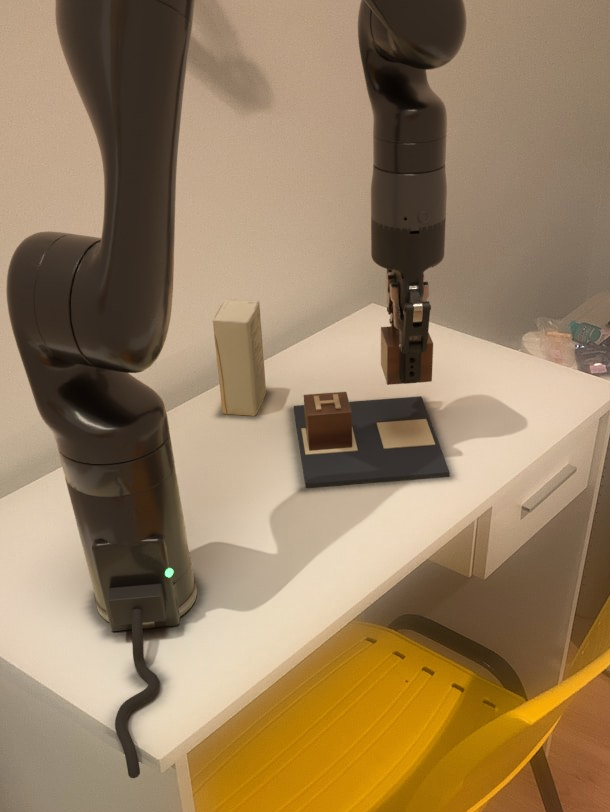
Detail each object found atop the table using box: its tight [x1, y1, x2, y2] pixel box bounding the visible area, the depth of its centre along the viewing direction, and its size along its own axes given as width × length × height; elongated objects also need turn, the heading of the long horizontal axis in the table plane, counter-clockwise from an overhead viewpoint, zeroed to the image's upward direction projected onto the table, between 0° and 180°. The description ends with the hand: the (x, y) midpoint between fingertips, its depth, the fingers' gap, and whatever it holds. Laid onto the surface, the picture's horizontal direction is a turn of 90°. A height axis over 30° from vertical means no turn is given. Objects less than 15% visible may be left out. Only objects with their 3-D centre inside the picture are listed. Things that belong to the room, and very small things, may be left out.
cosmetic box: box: [212, 298, 267, 417], centre depth 116 cm, size 6×4×12 cm
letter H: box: [303, 391, 352, 451], centre depth 110 cm, size 5×5×5 cm
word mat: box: [293, 396, 450, 489], centre depth 112 cm, size 18×16×1 cm
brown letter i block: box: [380, 325, 434, 386], centre depth 106 cm, size 5×5×5 cm
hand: (405, 369), depth 107 cm, fingers closed on brown letter i block, 5 cm apart
